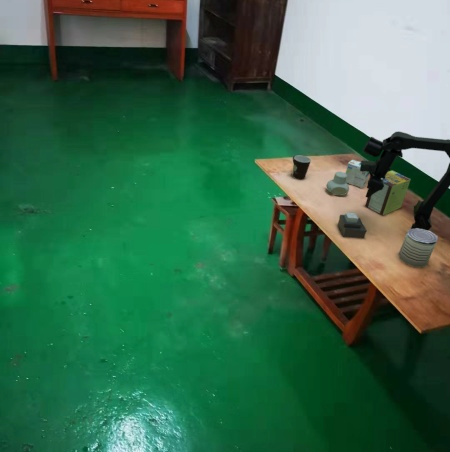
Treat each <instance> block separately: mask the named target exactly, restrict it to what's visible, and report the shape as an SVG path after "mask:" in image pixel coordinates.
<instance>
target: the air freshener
mask: <svg viewBox="0 0 450 452" xmlns="http://www.w3.org/2000/svg"><path fill="white" fill-rule="evenodd" d="M345 173H346V172H342V171H336V172H335V173H334V176H333V178H332V179H330V180H329V181H327V183H326V189H327V191H328V192H329V193H330V194H332V195H335V196H344V195H346V194H347V193H348V192H349V190H350V186H349V183H346V178H347V175H346V174H345Z"/></svg>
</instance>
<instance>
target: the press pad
mask: <svg viewBox="0 0 450 452" xmlns="http://www.w3.org/2000/svg"><path fill="white" fill-rule="evenodd" d="M344 215H345V216H344V218H345V220H346V222H349V223H357V221H358V218H359V217H358V215H357V213H356V212H349V211H348V212H345V213H344Z"/></svg>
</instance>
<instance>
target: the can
mask: <svg viewBox="0 0 450 452" xmlns="http://www.w3.org/2000/svg"><path fill="white" fill-rule="evenodd" d="M438 237H439V236H438V235H436V234H435V233H434V232H433V231H430V230H429V231H428V230H424V229H419V228H415V229H411V228H409V229H407V231H406V233H405V236H404V239H403V241H402V244H401V246H400V250H399V252H398V259H399V260H400V261H401V262H402V263H404V264H405V265H407V266H409V267H412V268H424V267H426V266H427V265H428V263H429V260H430V259H431V256H432V254H433V252H434V249H435V247H436V245H437V243H438V239H439V238H438Z"/></svg>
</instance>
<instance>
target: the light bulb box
mask: <svg viewBox="0 0 450 452" xmlns="http://www.w3.org/2000/svg"><path fill="white" fill-rule="evenodd" d="M360 166H361V161H358V160H356V159H351V160H350V161H349V162H347V166H346V170H345V172H344V173H345V174H346V175H347V178H346V183H347V184H348V185H349V184H350V185H351V186H355V187H357V188H360V189H363V188H364V187H365V186H366V185H367V184H368V180H369V177H370V174H369V172H366V171H363V172H362V171H360Z"/></svg>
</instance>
